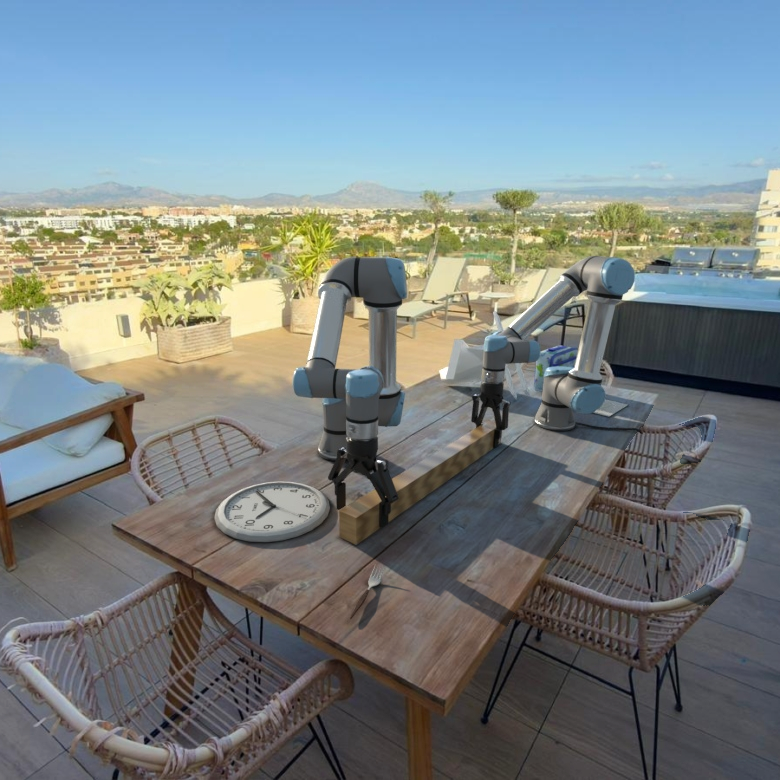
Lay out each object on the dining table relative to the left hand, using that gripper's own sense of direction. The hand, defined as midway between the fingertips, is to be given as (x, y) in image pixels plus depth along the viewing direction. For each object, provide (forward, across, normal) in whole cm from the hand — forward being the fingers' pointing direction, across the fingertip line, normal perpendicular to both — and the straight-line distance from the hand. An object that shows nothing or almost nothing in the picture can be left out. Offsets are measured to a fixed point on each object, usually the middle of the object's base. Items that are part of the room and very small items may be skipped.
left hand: (361, 516), depth 129 cm
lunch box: (+2, -6, +149) cm, 149 cm away
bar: (+4, 0, +35) cm, 35 cm away
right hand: (+3, 0, +69) cm, 69 cm away
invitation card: (+3, +19, +139) cm, 140 cm away
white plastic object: (+2, -32, +124) cm, 128 cm away
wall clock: (+4, -25, -6) cm, 26 cm away
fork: (+5, +16, -18) cm, 24 cm away
